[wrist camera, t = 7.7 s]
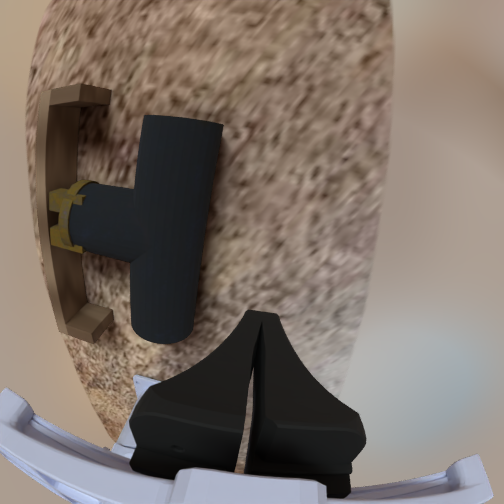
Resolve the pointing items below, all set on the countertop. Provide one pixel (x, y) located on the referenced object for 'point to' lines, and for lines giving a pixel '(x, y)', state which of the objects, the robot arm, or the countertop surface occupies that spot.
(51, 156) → the stop rail
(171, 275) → the pipe connector
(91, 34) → the countertop surface
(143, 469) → the robot arm
